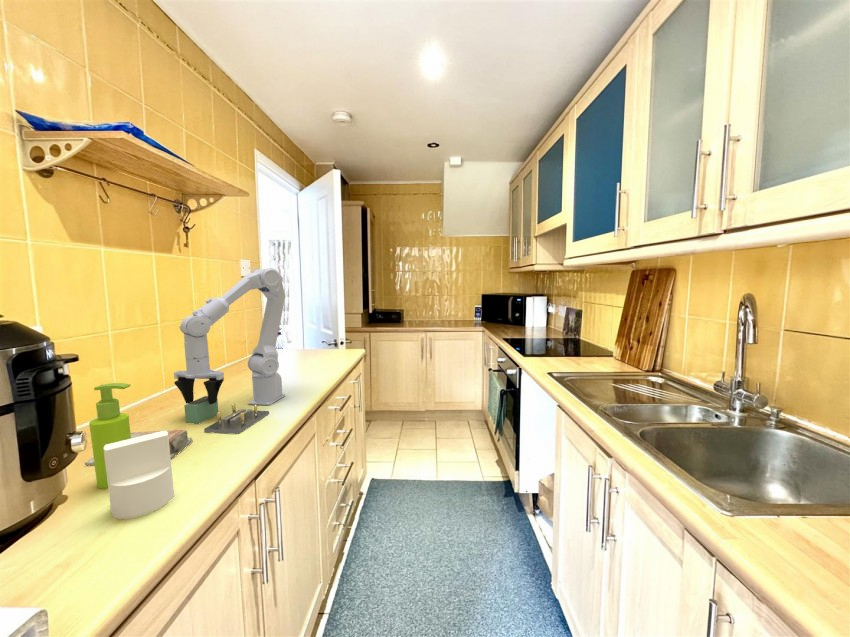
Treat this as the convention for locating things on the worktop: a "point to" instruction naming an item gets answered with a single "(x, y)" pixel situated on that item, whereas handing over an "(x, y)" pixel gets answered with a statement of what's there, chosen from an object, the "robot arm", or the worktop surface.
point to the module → (200, 410)
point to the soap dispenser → (107, 428)
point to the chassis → (236, 420)
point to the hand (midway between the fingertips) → (201, 402)
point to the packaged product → (176, 442)
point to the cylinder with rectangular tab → (139, 475)
